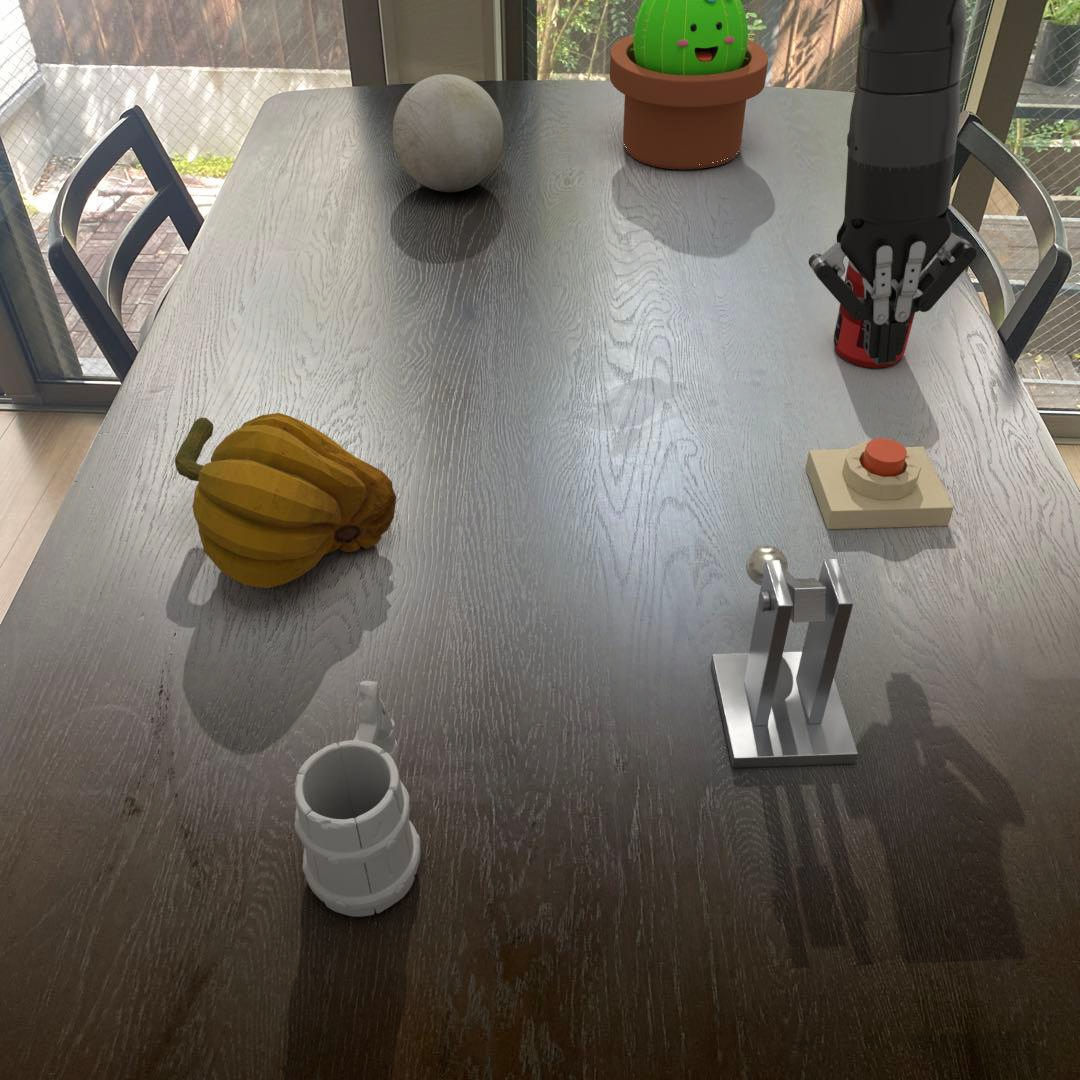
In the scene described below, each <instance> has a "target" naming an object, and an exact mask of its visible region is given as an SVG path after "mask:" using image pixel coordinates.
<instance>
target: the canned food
mask: <svg viewBox="0 0 1080 1080" xmlns="http://www.w3.org/2000/svg"><path fill="white" fill-rule="evenodd" d="M926 269H927V266H926V267H925V269H924V270H923V271H922V272H921V273H920V277H921V275H922V274H923V273H924V272H925V271H926ZM920 277H919V278H920ZM844 281H845V283H846V284H847V285H848V286H849V287H850V288H851V290H852V291H853V292H854V293H855V294H856V296H857V297H861V298H864V285H863V278H862V276H861V275H860V273H859V272H858V271H857V269H856V268H855V267H854V265H853V264H852V263H851V262H850V260H849V259H848V263H847V267H846V271H845V277H844ZM915 314H916V312H915V313H913V314H912V315H910V316H909V318H908V319H907V321H906V328H905V337H904V348H903V351H902V353H901V355H896V361H895V362H893V363H885V364H878V365H877V364H876V363H875V362H874V360H873V359H871V358H870V357H869V355H868V354H867V352H866V351H865V348H864V335H865V321H866V320H865V319H861V320H855V319H853V318H852V316H851V315H850V314H849V313H848V312H847V311H846V310H845V308H844V307H843V306H842V305H841V304H840V303H839V307H838V313H837V318H836V322H835V328H834V333H833V346H834V350H835V352H836V353H837V354H838V355H839V357H841V358H842V359H844V360H845V361H847V362H849V363H851V364H852V365H855V366H859V367H864V368H870V369H881V368H882V369H883V368H888V367H892V366H894V365H895V364H897V363H899V361H900V360H901V359H902V357H903V356H904V354H905V352H906V349H907V346H908V342H909V338H910V334H911V330H912V326H913V322H914V318H915Z"/></svg>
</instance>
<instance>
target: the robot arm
mask: <svg viewBox="0 0 1080 1080" xmlns="http://www.w3.org/2000/svg"><path fill="white" fill-rule="evenodd" d="M966 30H967V3H966V0H861V16H860V23H859V31H858V41H857V57H856V71H855V72H856V73H855V87H854V93H853V100H852V104H851V110H850V115H849V127H848V133H847V134H846V135H847V136H846V146H847V161H846V162H847V163H846V176H845V177H846V180H845V193H844V194H845V195H844V214H843V215H844V216H843V221H842V224H841V226H840V227H839V229H838V230H837V234H836V242H835V243H834V245H831V247H830V248H829V249H827V250H826V251H825V252H824V253H823V254H821V253H814V254H812V255H811V256H810V257H809V259H808V265H809V267H810V268H811V269H812V271H813V273H814V274H815V276H816V277H817V279H818V280H819V281H820V283H822V285H824V287H825V288H826V289H827V291H829V292H830V294H831V295H832V296H833V297H834V298H835V299H836V301H838V303H839V305H840V304H841V305H842V306H843V307H844V308H845V310H846V311H847V312H848V313H849V314H850V315H851V316H852V318H853V319H855V320H861V319H865V320H866V321H865V335H864V348H865V351H866V352H867V354H868V355H869V357H870V358H871V359H873V360H874V362H875V363H876V364H877V365H878V364H885V363H893V362H895V361H896V355H901V353H902V351H903V348H904V337H905V328H906V321H907V319H908V318H909V316H910V315H912V314H913V313H915V314H916V313H917V312H920V313H927V312H929V311H931V309H932V308H933V307H934V306H935V305H936V304H937V302H938V301H939V300H940V299H941V298H942V297H943V296H944V294H945V293H946V292H947V291H948V290H949V289H950V288H951V286H952V285H953V284H954V283H955V282H956V280H958V278H959V277H960V276H961V275H962V274H963V272H964V271H966V269H967V268H968V267H969V266H970V264H971V263H972V262H973V261H974V260H975V259H976V258H977V250H976V248H975V247H974V246H973V244H971V243H970V242H969V241H968V240H967V239H965V238H964V237H963V236H962V235H956V234H955V233H953V224H952V222H951V220H950V218H949V213H948V210H949V207H950V204H951V203H950V202H951V194H952V184H953V177H954V167H955V159H956V151H957V142H958V133H959V125H960V117H961V115H960V114H961V96H960V95H961V94H960V93H961V92H960V91H961V90H960V89H961V87H960V86H961V75H962V67H963V66H962V65H963V59H964V57H963V56H964V49H965V40H966V39H965V38H966ZM935 256H936V257H935ZM845 257H846V258H847V259H848V261H849V260H850V262H851V263H852V264H853V265H854V267H855V268H856V269H857V271H858V272H859V273H860V275H861V276H862V278H863V285H864V298H861V297H857V296H856V294H855V293H854V292H853V291H852V290H851V288H850V287H849V286H848V285H847V284H846V283H845V279H843V278H842V277H844V275H845V274H846V266H845V264H844V261H845V260H844V259H845ZM934 258H935V259H934ZM933 259H934V260H933ZM932 260H933V261H932ZM930 262H931V264H930ZM927 266H928V267H927ZM925 267H926V271H925V272H924V273H923V274H922V275H921V277H920V273H921V272H922V271H923V270H924V269H925ZM919 277H920V278H919Z"/></svg>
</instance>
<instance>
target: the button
mask: <svg viewBox="0 0 1080 1080" xmlns="http://www.w3.org/2000/svg"><path fill="white" fill-rule="evenodd" d="M869 441H870V442H868V443H867V445H866V448H865V452H864V457H863V461H862V464H863V467H864V468H865V469H866V470H867V471H869V472H870V473H872V474H875V475H879V476H882V477H894V476H897V475H899V474H900V473H901V472H902V470H903V467H904V463H905V459H906V456H907V451H906V449H905V447H906V446H904V445H903V444H902V443H901V442H899V441H896V440H894V439H891V438H885V437H884V438H883V437H880V438H874V439H871V440H869Z"/></svg>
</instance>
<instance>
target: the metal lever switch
mask: <svg viewBox="0 0 1080 1080" xmlns="http://www.w3.org/2000/svg"><path fill="white" fill-rule="evenodd" d="M818 581H819V582H820V583H821V584H822V585H824V586H825V587H826V621H825V622H808V624H807V630H806V633H805V638H804V643H803V646H802V650H801V651H800V650H799V651H785V646H786V641H787V636H788V632H789V626H790V622H791V619H790V618H791V613H792V608H793V603H792V600H791V597H790V593H789V590H788V586H787V583H786V580H785V576H784V573H783V570H782V566H781V563H780V560H770V561H766V562H765V567H764V573H763V579H762V584H761V585H760V591H759V594H758V601H757V606H756V613H755V618H754V623H753V629H752V635H751V640H750V646H749V650H748V652H742V653H741V652H740V653H739V652H738V653H713V654H712V655H711V660H710V668H711V673H712V677H713V681H714V688H715V692H716V697H717V701H718V707H719V711H720V716H721V721H722V726H723V730H724V735H725V740H726V745H727V749H728V750H727V751H728V756H729V759H730V765H731V768H732V769H743V768H744V769H747V768H770V767H771V768H772V767H773V768H774V767H795V766H796V767H798V766H825V765H828V766H829V765H853V764H856V762H857V760H858V756H859V752H858V749H857V746H856V742H855V739H854V736H853V733H852V730H851V727H850V726H851V725H850V723H849V720H848V717H847V713H846V711H845V708H844V704H843V701H842V697H841V693H840V691H839V688H838V685H837V682H836V678H835V674H836V671H837V667H838V664H839V660H840V656H841V652H842V649H843V644H844V640H845V637H846V633H847V629H848V627H849V626H848V625H849V622H850V617H851V614H852V611H853V606H854V601H853V598H852V595H851V591H850V589H849V586H848V584H847V582H846V578H845V576H844V573H843V570H842V568H841V565H840V562H839V558H837V557H835V558H823V559H822V564H821V568H820V573H819V577H818Z"/></svg>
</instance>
